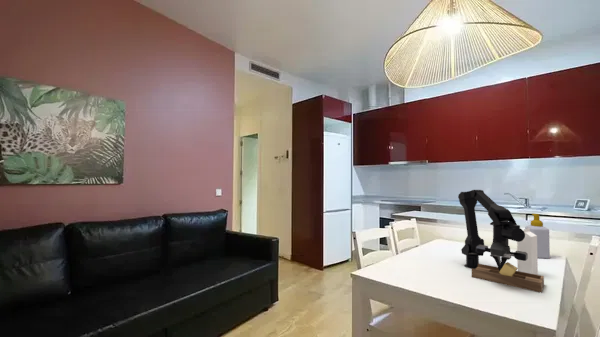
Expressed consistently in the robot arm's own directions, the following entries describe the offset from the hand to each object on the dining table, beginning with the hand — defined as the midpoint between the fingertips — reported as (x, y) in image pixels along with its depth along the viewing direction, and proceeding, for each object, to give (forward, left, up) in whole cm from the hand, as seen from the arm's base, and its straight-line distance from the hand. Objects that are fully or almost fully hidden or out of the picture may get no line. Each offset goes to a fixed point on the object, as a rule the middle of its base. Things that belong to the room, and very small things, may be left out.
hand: (500, 271), depth 128 cm
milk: (-22, +7, -5) cm, 23 cm away
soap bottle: (-65, +7, -5) cm, 65 cm away
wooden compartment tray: (-3, +2, -5) cm, 6 cm away
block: (0, +2, -1) cm, 2 cm away
